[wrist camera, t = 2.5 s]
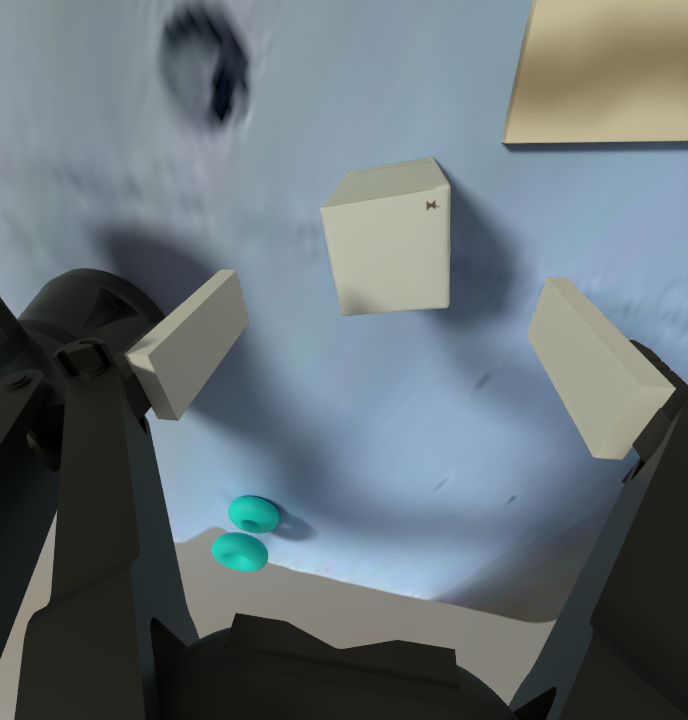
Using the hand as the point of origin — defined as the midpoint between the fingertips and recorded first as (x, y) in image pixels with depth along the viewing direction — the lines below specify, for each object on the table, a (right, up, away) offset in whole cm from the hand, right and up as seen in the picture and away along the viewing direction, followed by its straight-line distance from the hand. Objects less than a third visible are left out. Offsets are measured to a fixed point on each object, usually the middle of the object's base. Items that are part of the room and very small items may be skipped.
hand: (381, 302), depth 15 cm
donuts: (-19, -32, +51) cm, 63 cm away
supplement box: (+3, +11, +15) cm, 19 cm away
